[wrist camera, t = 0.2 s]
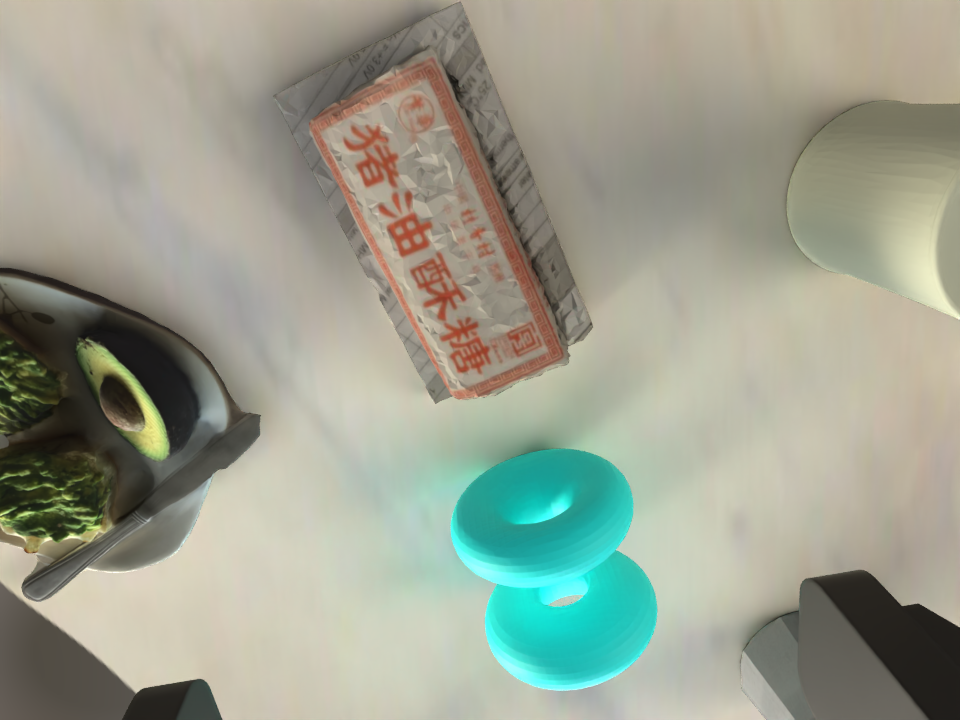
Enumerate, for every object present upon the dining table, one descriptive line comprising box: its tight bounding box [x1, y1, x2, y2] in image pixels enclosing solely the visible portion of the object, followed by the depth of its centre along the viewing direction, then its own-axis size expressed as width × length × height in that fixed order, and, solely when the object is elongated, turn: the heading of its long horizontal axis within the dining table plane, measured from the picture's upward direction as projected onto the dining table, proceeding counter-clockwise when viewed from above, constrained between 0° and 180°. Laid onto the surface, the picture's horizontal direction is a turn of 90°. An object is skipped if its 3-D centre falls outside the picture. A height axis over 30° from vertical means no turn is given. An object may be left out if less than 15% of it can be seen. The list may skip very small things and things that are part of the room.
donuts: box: [451, 449, 657, 690], centre depth 38 cm, size 10×10×10 cm
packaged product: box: [273, 2, 593, 404], centre depth 33 cm, size 18×5×10 cm
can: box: [787, 101, 960, 320], centre depth 31 cm, size 9×9×12 cm
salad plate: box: [0, 268, 261, 602], centre depth 37 cm, size 19×18×5 cm
